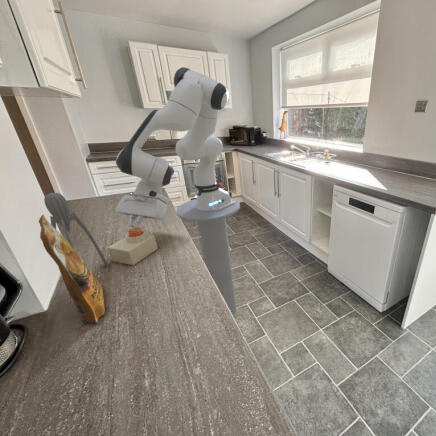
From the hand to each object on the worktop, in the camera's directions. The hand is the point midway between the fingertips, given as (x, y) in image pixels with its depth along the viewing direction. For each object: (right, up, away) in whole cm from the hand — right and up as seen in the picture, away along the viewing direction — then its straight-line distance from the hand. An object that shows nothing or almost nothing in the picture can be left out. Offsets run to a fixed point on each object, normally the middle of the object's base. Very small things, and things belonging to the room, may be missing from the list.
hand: (133, 226), depth 92 cm
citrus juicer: (-8, -17, -11) cm, 22 cm away
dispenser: (0, -11, +2) cm, 11 cm away
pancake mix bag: (+3, -23, -23) cm, 32 cm away
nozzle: (0, -3, +1) cm, 3 cm away
